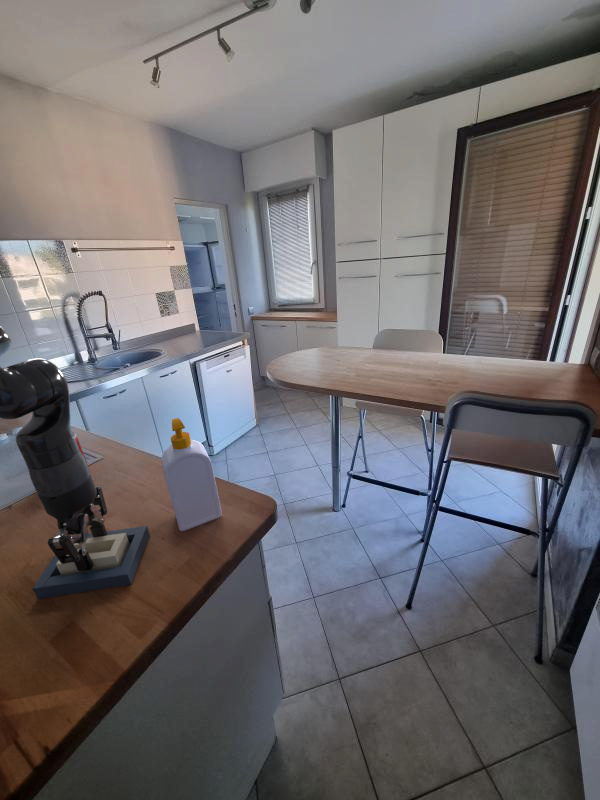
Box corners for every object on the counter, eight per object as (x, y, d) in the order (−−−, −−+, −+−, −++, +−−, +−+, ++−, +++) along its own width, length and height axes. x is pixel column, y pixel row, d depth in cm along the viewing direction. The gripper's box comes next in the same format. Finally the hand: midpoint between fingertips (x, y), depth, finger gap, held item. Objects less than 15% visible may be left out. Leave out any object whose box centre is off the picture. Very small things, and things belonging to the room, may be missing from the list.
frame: (62, 578, 60) (55, 564, 58) (77, 553, 65) (71, 540, 63) (120, 569, 61) (114, 555, 59) (130, 546, 66) (125, 532, 64)
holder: (37, 599, 57) (31, 588, 56) (71, 546, 67) (67, 536, 66) (131, 584, 58) (127, 574, 57) (150, 535, 69) (147, 525, 68)
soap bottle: (215, 498, 78) (196, 410, 69) (222, 516, 72) (203, 423, 63) (175, 512, 75) (150, 421, 66) (180, 532, 69) (153, 436, 60)
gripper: (62, 459, 62) (91, 528, 68) (10, 513, 48) (52, 592, 55) (104, 454, 62) (129, 523, 69) (64, 506, 49) (99, 585, 56)
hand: (94, 553), depth 62 cm, fingers open, 6 cm apart
